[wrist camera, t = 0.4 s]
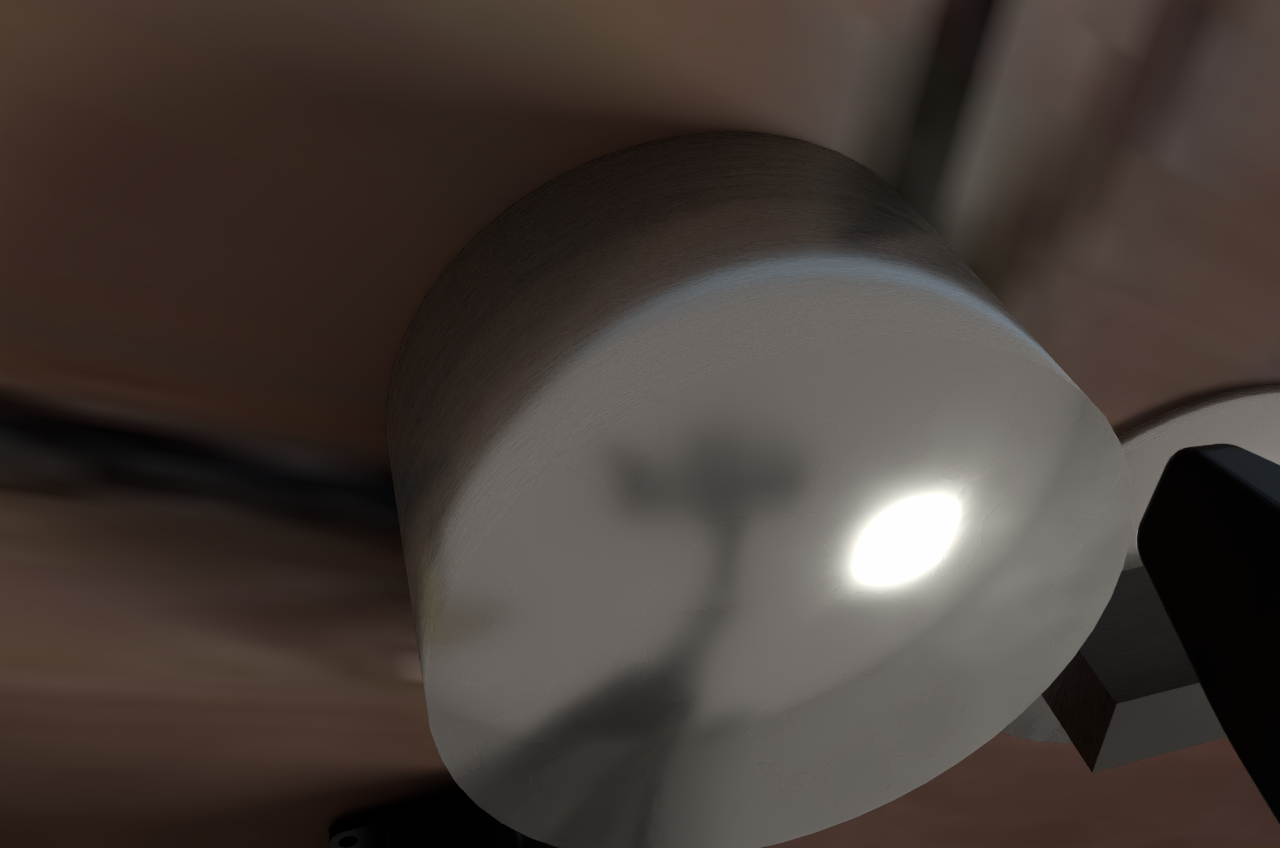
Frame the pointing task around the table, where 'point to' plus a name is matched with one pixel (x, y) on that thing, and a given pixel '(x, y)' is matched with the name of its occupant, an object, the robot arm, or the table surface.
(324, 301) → the table surface
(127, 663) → the table surface
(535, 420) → the grey cylinder drum
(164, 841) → the table surface
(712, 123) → the table surface
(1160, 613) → the lid
